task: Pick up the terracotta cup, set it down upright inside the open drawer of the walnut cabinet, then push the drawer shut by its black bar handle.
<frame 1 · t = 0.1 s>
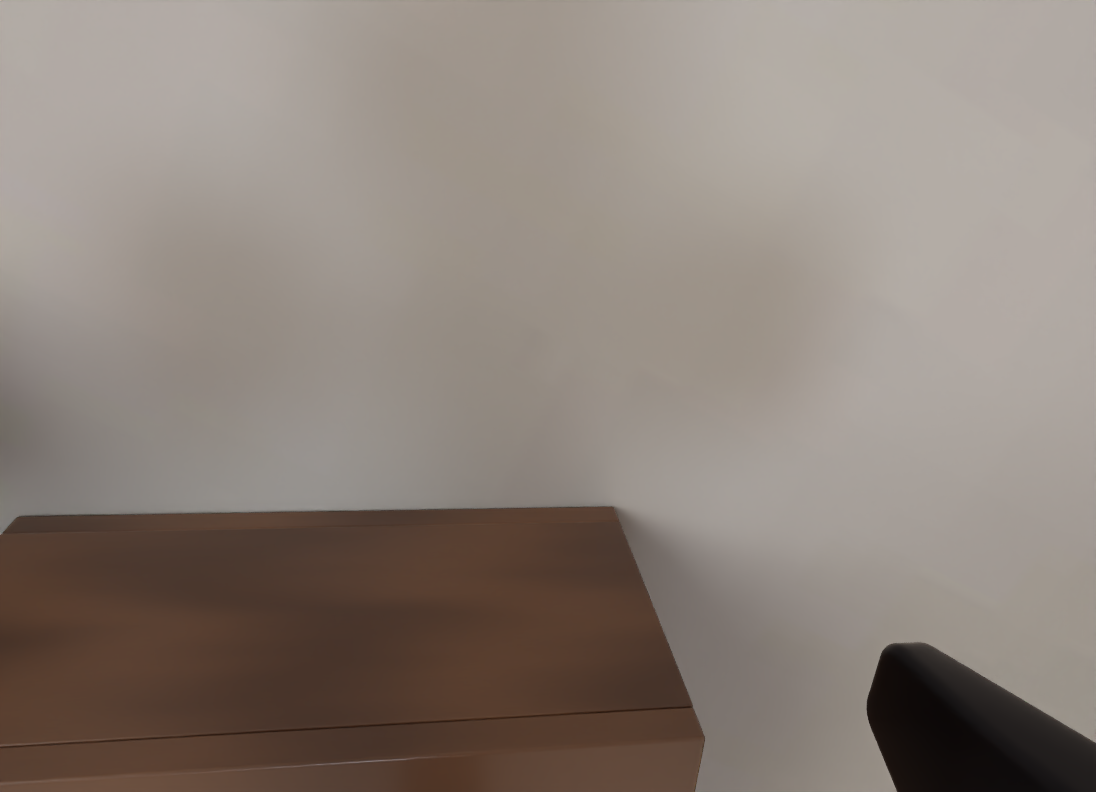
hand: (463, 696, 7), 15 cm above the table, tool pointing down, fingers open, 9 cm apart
cabinet: (343, 692, 26), on the table
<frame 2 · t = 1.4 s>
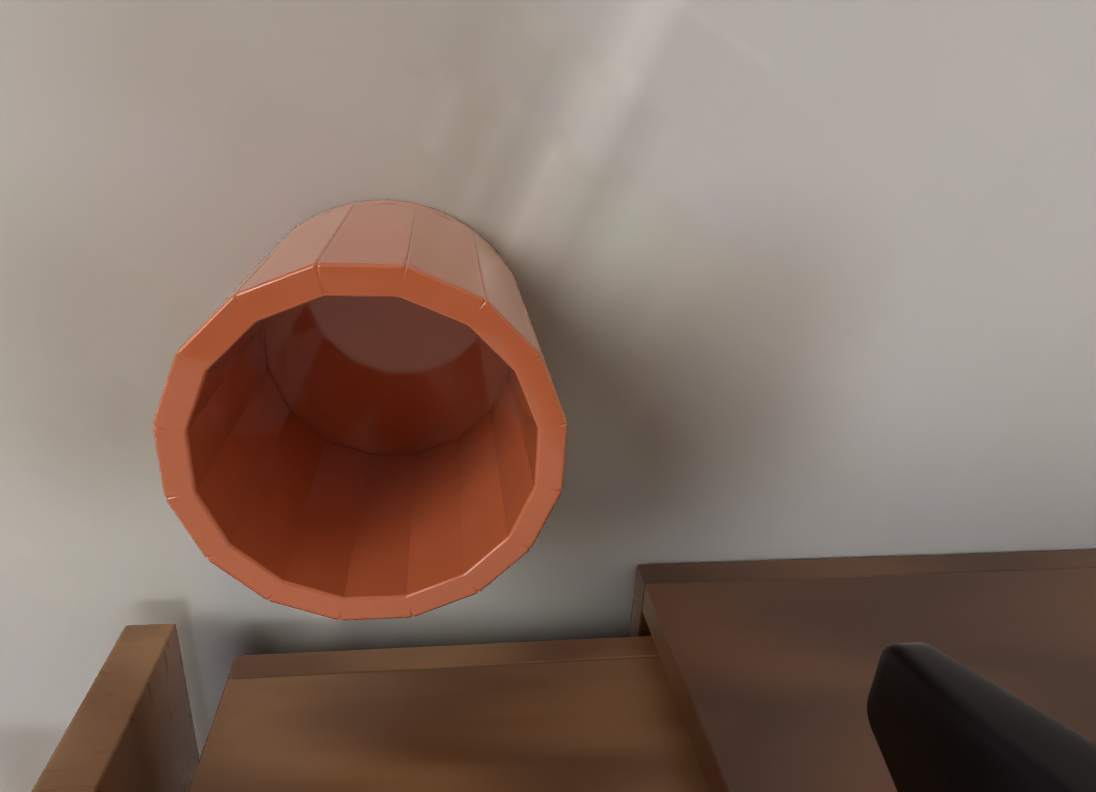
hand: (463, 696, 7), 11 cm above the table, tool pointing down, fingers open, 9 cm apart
cabinet: (871, 737, 25), on the table
cup: (391, 339, 17), on the table
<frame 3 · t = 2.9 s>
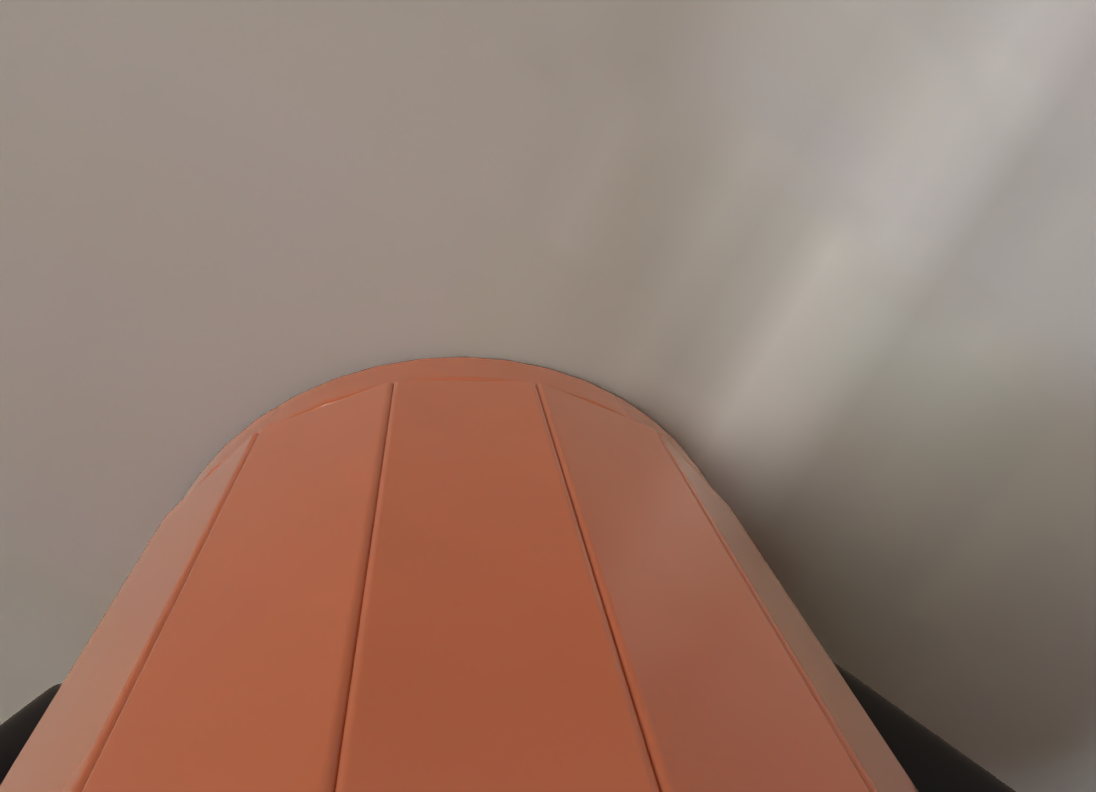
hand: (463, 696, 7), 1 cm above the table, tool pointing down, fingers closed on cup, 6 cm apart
cup: (458, 619, 8), on the table, touching gripper
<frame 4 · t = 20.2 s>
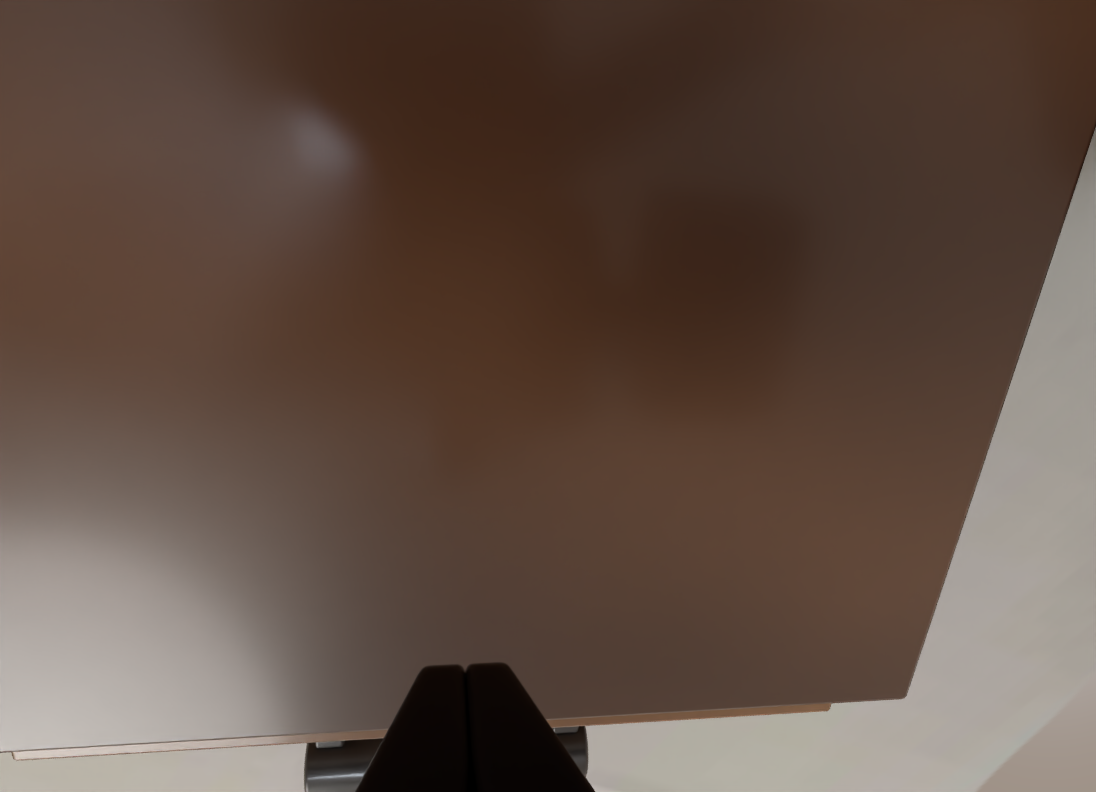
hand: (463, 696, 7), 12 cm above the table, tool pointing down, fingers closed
cabinet: (453, 79, 16), on the table
drawer: (454, 319, 13), point 5 cm above the table, slide at 0.0 cm, touching cup
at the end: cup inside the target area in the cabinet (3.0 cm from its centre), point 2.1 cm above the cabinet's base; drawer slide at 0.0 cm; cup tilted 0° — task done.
